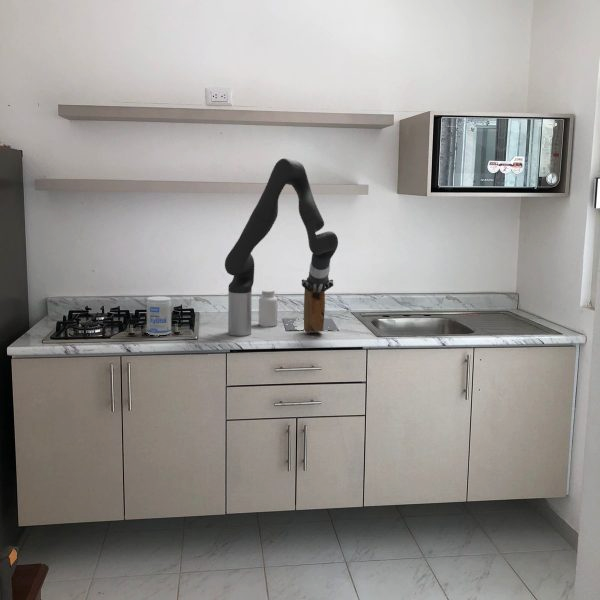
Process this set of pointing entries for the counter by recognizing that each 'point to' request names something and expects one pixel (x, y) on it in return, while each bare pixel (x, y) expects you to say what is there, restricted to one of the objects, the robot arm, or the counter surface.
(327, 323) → the mat
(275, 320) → the pill bottle
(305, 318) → the brown rounded chunk
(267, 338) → the counter surface
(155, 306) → the supplement tub
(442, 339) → the counter surface
